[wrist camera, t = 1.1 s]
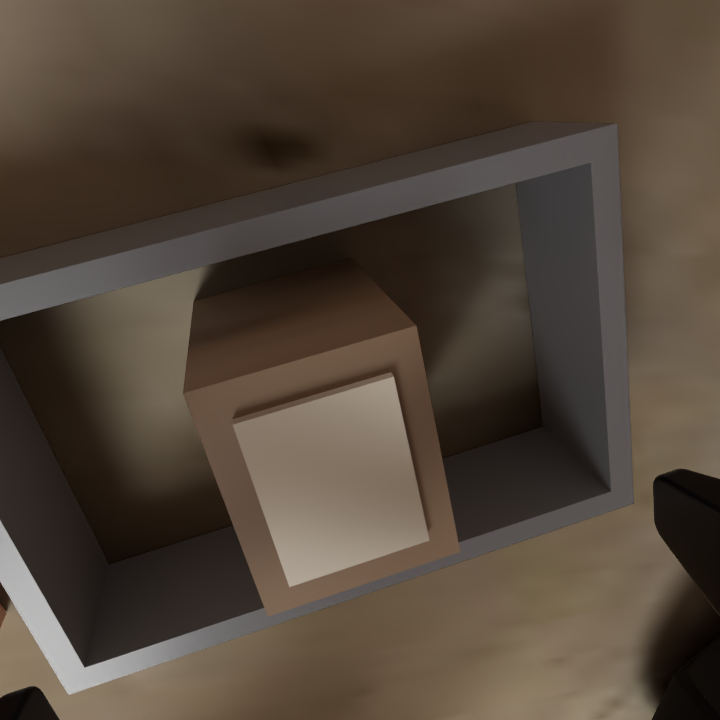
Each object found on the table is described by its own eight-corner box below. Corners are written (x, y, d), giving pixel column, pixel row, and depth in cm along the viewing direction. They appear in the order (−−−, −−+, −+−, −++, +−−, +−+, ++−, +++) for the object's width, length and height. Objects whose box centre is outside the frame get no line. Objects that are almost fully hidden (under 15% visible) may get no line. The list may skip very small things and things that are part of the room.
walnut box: (390, 426, 17) (463, 558, 12) (252, 469, 17) (268, 624, 12) (351, 257, 15) (419, 329, 10) (193, 300, 15) (182, 398, 10)
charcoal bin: (563, 437, 19) (633, 503, 16) (95, 587, 17) (68, 694, 14) (532, 121, 15) (617, 122, 12) (-67, 275, 13) (-155, 325, 10)
